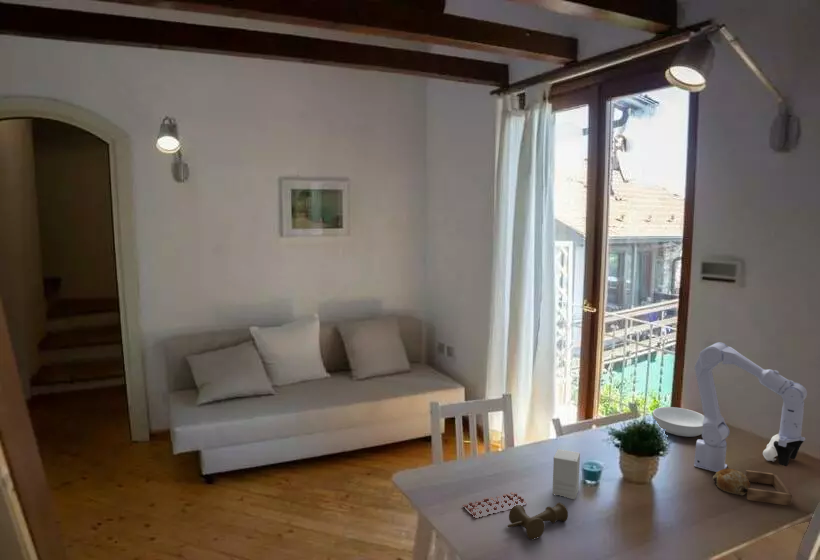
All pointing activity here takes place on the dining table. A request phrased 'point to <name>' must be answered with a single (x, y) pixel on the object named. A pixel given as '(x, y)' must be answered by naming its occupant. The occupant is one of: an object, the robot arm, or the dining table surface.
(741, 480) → the bread roll
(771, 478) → the wooden tray
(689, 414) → the serving bowl
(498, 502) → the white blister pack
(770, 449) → the white lumpy piece
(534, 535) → the kendama
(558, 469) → the supplement box
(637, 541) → the dining table surface
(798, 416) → the robot arm
